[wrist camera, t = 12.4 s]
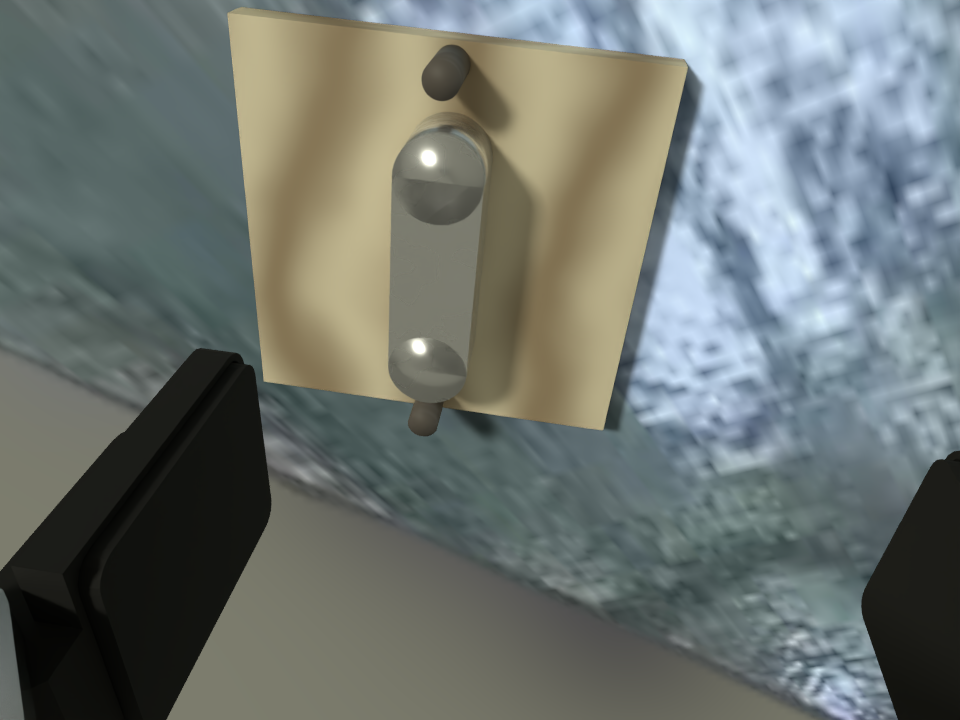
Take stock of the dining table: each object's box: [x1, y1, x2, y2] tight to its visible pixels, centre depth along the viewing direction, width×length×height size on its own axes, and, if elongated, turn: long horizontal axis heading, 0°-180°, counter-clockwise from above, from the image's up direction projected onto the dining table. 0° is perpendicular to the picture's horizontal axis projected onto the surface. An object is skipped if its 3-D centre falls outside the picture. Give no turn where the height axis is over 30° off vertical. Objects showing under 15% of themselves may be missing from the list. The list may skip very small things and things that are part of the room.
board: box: [228, 7, 688, 436], centre depth 37 cm, size 20×20×4 cm
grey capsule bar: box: [388, 112, 493, 403], centre depth 36 cm, size 4×14×4 cm, turn 175°
